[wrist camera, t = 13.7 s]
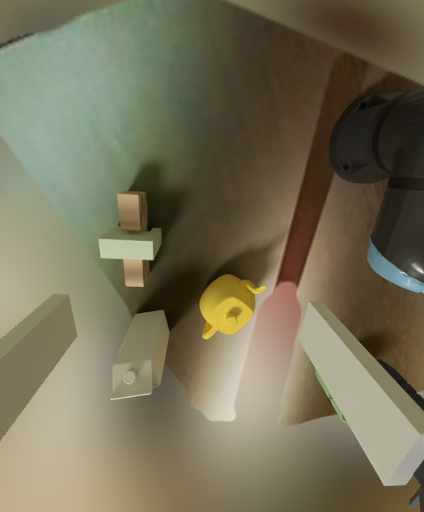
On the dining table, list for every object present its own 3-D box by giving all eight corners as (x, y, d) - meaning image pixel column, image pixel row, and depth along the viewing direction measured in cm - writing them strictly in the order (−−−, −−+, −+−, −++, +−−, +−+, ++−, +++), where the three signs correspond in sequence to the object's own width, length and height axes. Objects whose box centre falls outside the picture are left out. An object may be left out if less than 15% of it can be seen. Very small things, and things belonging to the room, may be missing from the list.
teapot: (236, 250, 48) (245, 271, 38) (269, 278, 51) (286, 304, 41) (186, 303, 53) (183, 334, 43) (219, 325, 56) (223, 359, 46)
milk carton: (169, 331, 55) (156, 406, 38) (142, 335, 56) (116, 412, 38) (163, 309, 53) (146, 378, 35) (135, 313, 53) (103, 385, 35)
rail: (128, 190, 42) (117, 193, 36) (146, 191, 42) (138, 195, 37) (134, 272, 49) (125, 286, 43) (149, 273, 49) (143, 286, 43)
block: (117, 225, 44) (98, 238, 36) (161, 228, 45) (152, 241, 37) (118, 241, 46) (101, 257, 37) (161, 243, 46) (153, 260, 38)
